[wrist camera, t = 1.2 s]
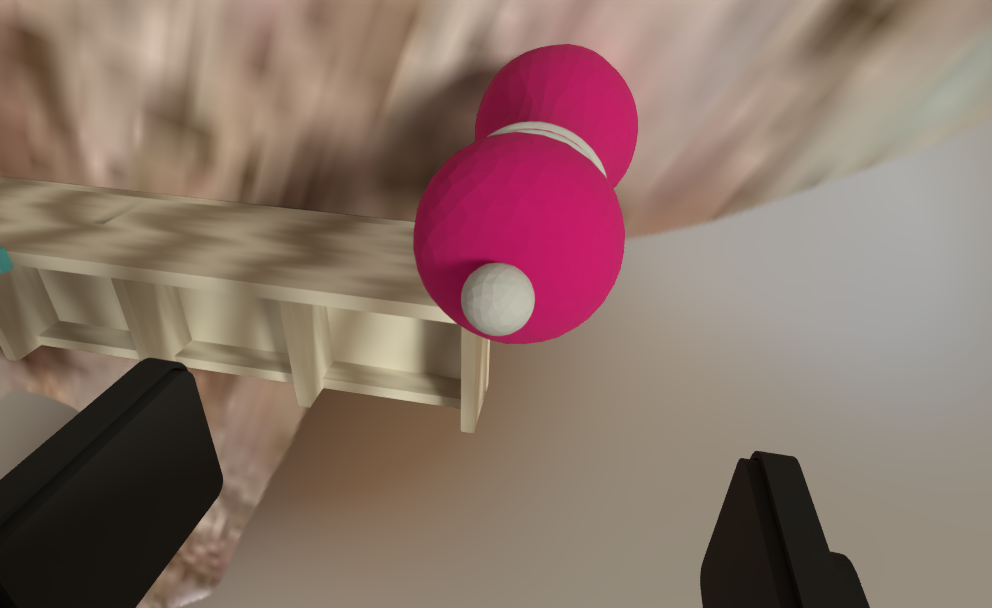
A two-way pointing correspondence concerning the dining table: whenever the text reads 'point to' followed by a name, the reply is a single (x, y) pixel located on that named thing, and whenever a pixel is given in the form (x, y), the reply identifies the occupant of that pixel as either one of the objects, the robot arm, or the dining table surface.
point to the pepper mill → (532, 200)
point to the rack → (231, 292)
